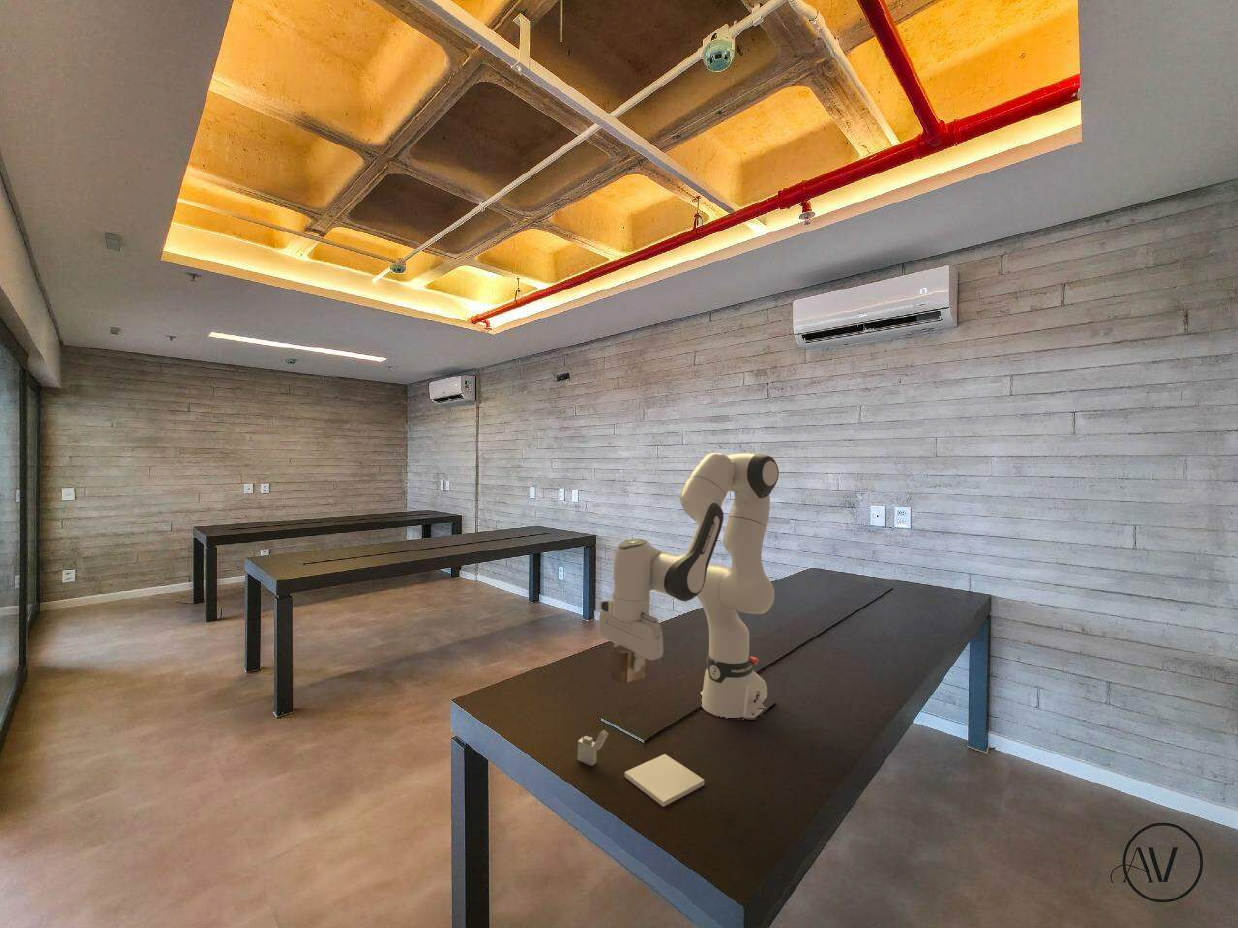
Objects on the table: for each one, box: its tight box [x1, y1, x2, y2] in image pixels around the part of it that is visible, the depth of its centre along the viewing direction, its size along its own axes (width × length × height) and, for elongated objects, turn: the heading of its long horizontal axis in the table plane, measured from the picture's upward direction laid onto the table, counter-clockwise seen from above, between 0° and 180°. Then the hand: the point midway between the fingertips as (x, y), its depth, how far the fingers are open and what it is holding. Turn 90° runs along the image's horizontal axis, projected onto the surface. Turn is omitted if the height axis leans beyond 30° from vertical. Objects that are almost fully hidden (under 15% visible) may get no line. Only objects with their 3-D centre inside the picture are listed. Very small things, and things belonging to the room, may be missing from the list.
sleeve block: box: [610, 646, 646, 685], centre depth 121 cm, size 7×4×7 cm, turn 128°
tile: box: [624, 753, 705, 808], centre depth 108 cm, size 12×12×1 cm
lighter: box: [577, 729, 609, 767], centre depth 114 cm, size 7×2×8 cm, turn 59°
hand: (628, 666), depth 121 cm, fingers closed on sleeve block, 4 cm apart
